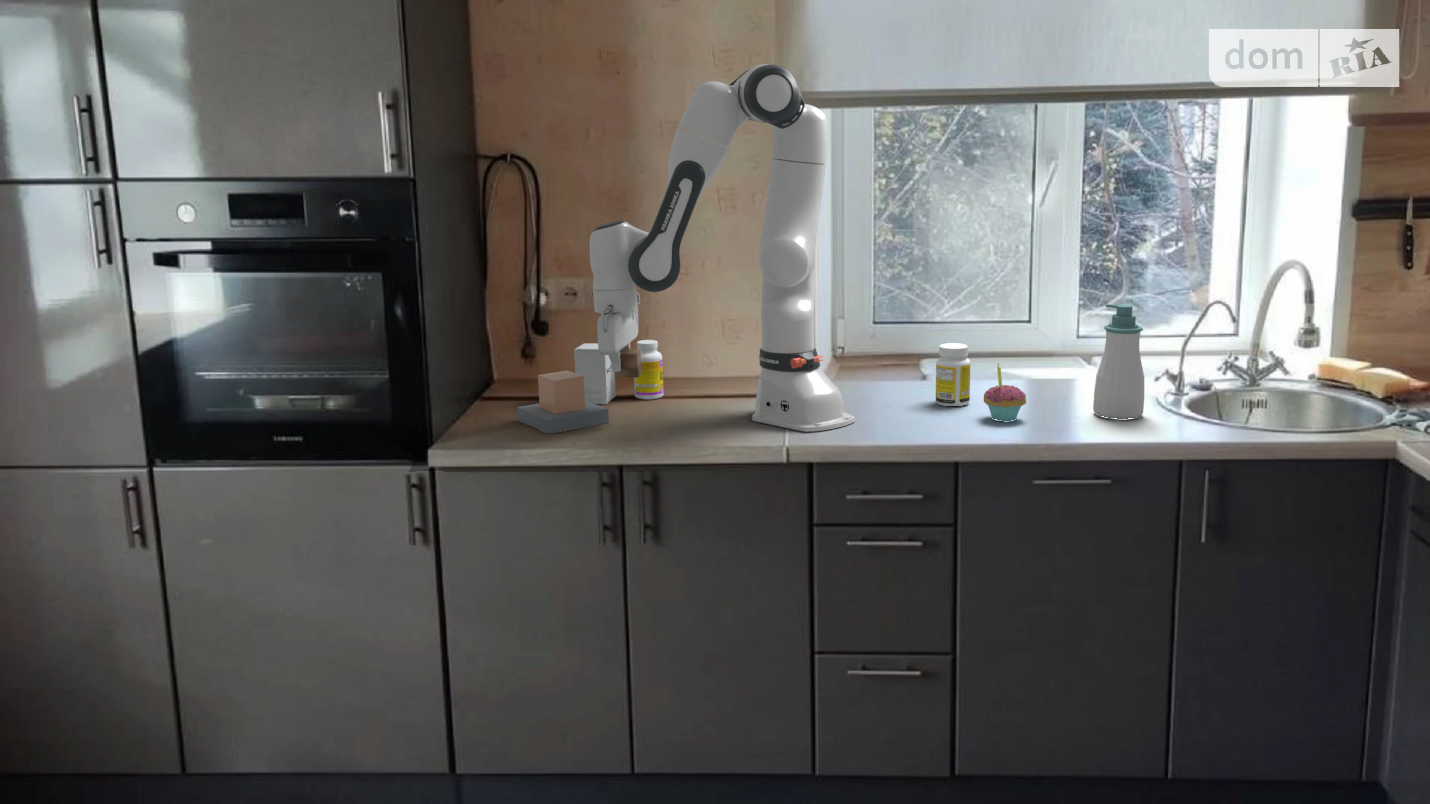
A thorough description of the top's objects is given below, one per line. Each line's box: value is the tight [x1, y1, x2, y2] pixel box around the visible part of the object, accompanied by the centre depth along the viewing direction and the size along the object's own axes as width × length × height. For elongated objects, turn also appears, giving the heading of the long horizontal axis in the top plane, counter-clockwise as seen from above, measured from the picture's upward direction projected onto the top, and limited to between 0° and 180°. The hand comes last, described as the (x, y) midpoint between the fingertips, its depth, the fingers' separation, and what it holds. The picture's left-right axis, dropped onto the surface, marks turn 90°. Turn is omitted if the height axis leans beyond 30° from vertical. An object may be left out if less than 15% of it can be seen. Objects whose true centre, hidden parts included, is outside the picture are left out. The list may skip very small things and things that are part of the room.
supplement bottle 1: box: [633, 339, 665, 401], centre depth 260 cm, size 7×7×13 cm
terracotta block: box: [537, 370, 585, 414], centre depth 239 cm, size 7×7×7 cm
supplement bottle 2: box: [935, 342, 971, 407], centre depth 247 cm, size 7×7×13 cm
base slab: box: [517, 401, 610, 434], centre depth 241 cm, size 14×14×3 cm
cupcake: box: [983, 363, 1027, 421], centre depth 234 cm, size 9×8×12 cm
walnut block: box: [614, 348, 642, 379], centre depth 237 cm, size 5×5×5 cm
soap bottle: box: [1092, 303, 1145, 419], centre depth 233 cm, size 10×10×23 cm
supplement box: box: [573, 342, 616, 405], centre depth 257 cm, size 7×7×13 cm
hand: (621, 367), depth 237 cm, fingers closed on walnut block, 5 cm apart
